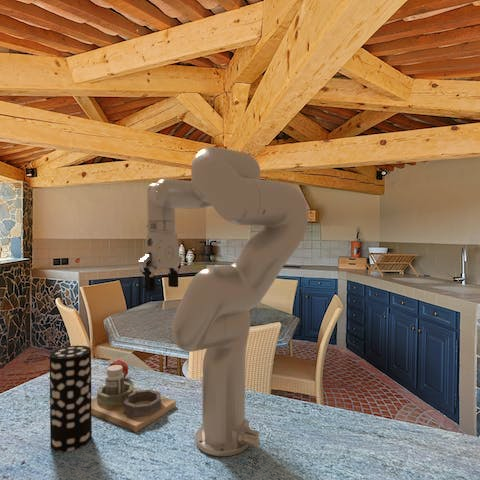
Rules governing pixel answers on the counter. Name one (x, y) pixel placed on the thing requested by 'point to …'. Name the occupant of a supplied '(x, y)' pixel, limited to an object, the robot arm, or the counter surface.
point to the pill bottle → (115, 380)
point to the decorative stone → (123, 364)
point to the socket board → (131, 407)
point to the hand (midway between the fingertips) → (162, 289)
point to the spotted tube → (70, 398)
